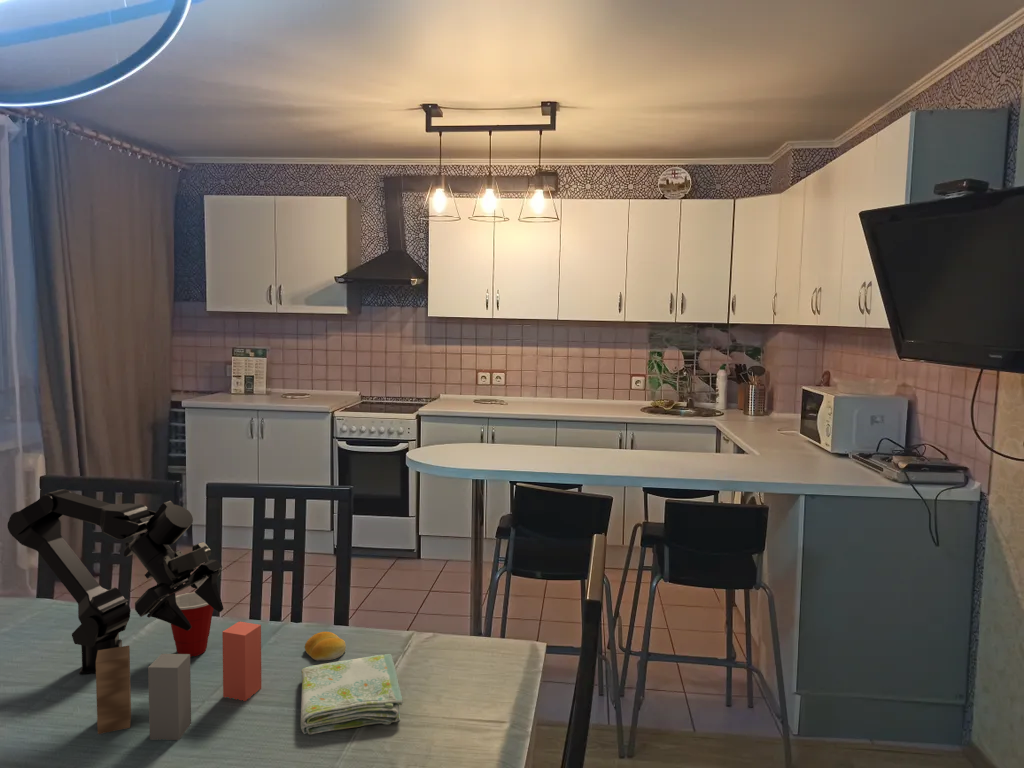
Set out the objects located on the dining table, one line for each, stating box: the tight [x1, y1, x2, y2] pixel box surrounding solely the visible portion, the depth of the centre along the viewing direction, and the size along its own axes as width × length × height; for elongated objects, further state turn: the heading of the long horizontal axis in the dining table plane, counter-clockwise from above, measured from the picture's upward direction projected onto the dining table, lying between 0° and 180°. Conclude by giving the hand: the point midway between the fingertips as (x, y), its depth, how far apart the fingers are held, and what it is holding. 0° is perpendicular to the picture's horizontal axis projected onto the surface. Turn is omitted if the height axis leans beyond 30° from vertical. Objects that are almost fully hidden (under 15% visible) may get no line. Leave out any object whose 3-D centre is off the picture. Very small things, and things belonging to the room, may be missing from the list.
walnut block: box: [95, 645, 132, 735], centre depth 128 cm, size 5×5×13 cm
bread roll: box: [304, 631, 347, 662], centre depth 158 cm, size 8×9×4 cm
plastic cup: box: [170, 591, 215, 658], centre depth 157 cm, size 11×11×12 cm
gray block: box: [147, 653, 192, 741], centre depth 126 cm, size 5×5×13 cm
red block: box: [222, 620, 262, 702], centre depth 140 cm, size 5×5×13 cm
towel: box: [300, 653, 404, 735], centre depth 138 cm, size 18×21×5 cm
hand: (206, 619), depth 141 cm, fingers open, 9 cm apart
